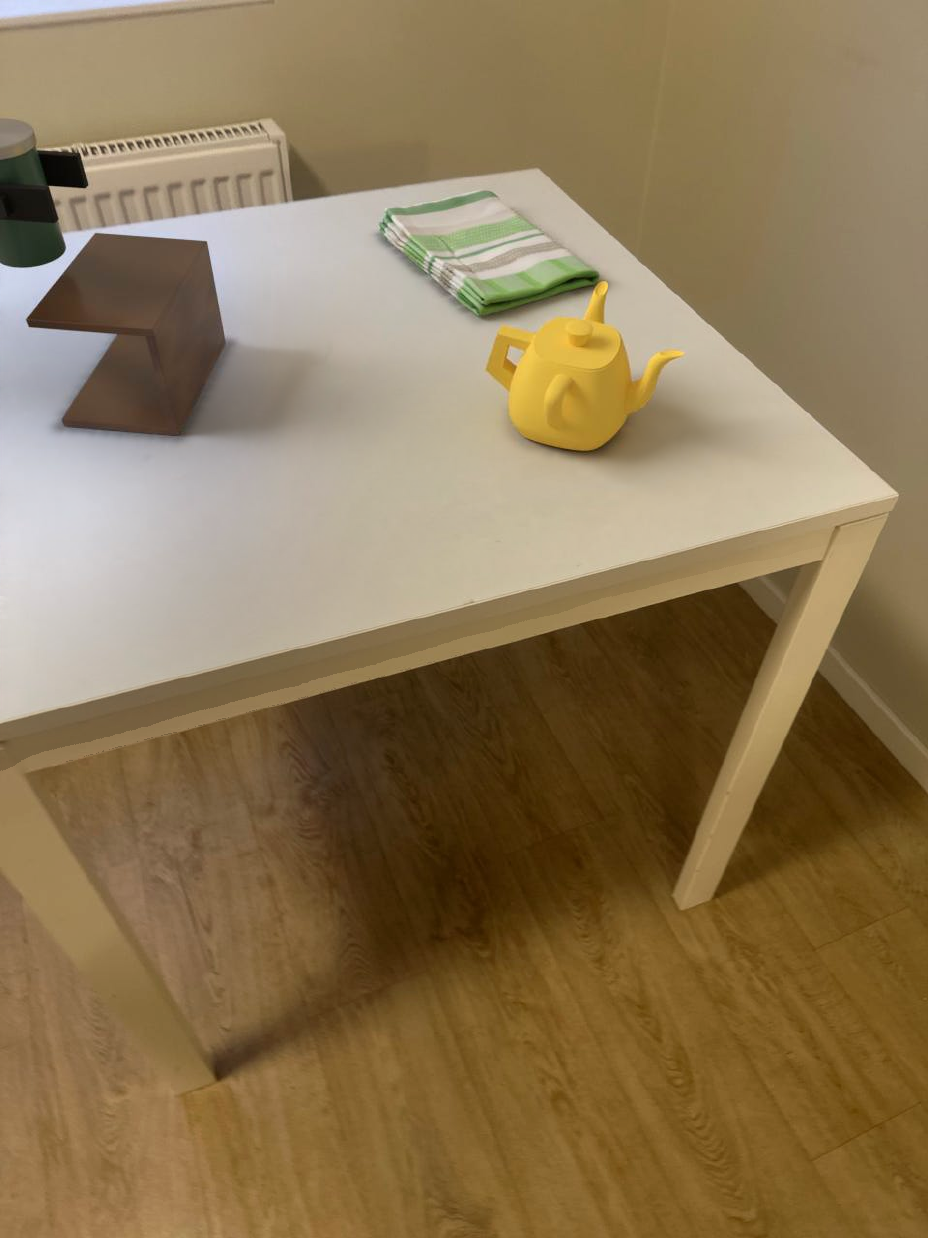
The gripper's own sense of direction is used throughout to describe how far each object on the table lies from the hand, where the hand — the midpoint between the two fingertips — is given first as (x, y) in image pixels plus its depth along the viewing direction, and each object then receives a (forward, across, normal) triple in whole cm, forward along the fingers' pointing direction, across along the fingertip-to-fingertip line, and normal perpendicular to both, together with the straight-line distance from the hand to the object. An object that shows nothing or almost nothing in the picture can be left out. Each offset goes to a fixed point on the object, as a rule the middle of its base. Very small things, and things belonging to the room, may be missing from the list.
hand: (67, 187), depth 78 cm
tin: (-5, 0, -6) cm, 8 cm away
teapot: (+45, 0, -19) cm, 49 cm away
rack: (+3, 0, -19) cm, 19 cm away
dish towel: (+34, -30, -19) cm, 49 cm away
